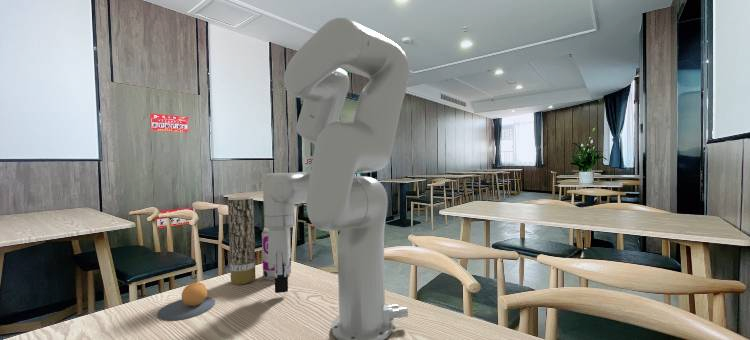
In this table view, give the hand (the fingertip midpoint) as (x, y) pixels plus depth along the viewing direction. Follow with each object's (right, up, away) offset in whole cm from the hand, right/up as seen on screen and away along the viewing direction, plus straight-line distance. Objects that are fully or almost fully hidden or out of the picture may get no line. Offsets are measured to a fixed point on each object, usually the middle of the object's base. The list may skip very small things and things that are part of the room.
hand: (281, 291), depth 82 cm
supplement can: (-6, -1, +15) cm, 16 cm away
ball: (-20, +1, -4) cm, 21 cm away
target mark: (-21, -2, -5) cm, 22 cm away
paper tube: (-15, -2, +11) cm, 19 cm away
